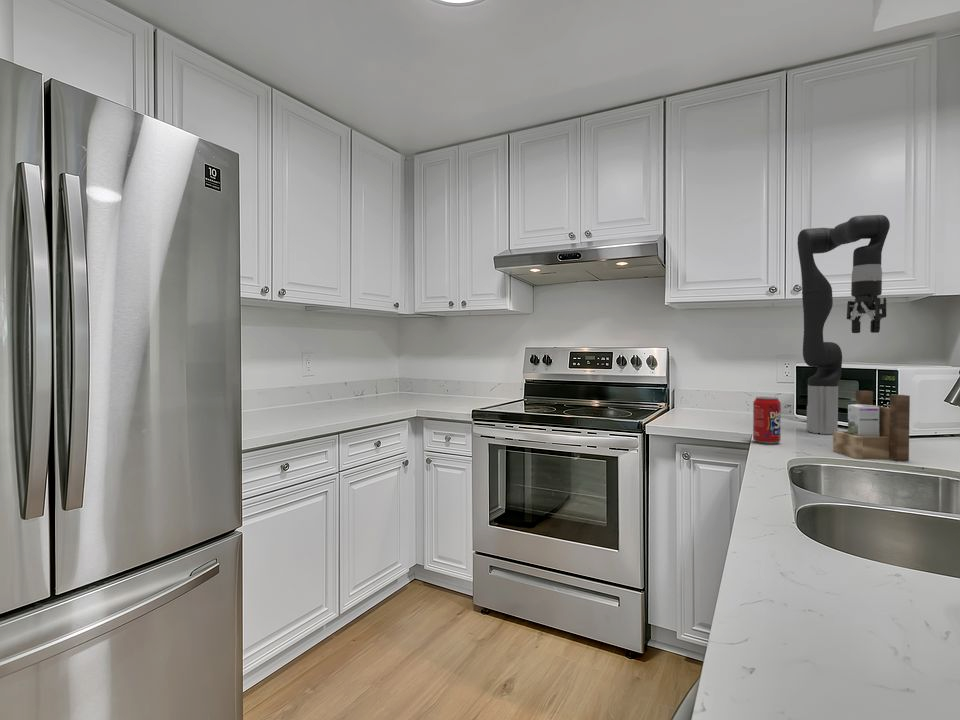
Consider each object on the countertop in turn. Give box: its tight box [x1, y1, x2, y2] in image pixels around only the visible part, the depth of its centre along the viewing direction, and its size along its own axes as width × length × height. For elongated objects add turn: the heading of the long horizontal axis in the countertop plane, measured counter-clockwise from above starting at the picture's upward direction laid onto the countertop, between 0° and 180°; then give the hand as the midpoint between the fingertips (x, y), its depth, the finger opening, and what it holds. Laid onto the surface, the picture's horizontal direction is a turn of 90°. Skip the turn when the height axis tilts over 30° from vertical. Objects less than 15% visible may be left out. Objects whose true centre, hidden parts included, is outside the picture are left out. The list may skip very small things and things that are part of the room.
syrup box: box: [847, 403, 879, 437], centre depth 148 cm, size 6×6×14 cm
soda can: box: [752, 396, 782, 445], centre depth 168 cm, size 8×8×15 cm
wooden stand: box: [832, 390, 911, 462], centre depth 148 cm, size 17×12×18 cm
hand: (865, 332), depth 159 cm, fingers open, 8 cm apart
